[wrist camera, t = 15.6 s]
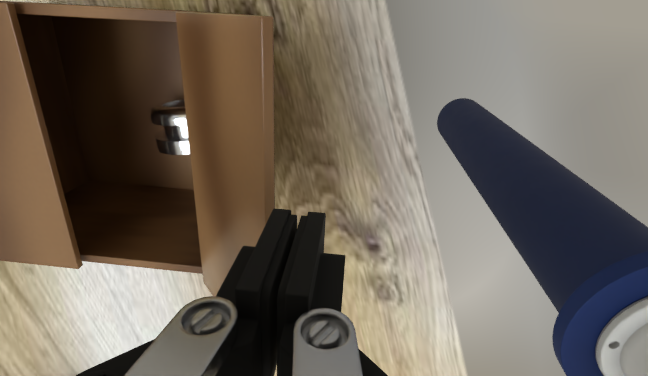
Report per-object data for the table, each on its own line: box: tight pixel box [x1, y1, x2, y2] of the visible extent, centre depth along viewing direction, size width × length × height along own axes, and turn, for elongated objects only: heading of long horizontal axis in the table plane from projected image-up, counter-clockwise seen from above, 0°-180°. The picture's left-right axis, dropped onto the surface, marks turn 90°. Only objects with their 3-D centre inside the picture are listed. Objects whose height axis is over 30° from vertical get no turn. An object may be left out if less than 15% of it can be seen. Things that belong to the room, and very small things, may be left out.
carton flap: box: [176, 12, 276, 370], centre depth 16 cm, size 7×14×1 cm
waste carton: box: [0, 1, 247, 274], centre depth 24 cm, size 15×14×11 cm
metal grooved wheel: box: [150, 98, 190, 155], centre depth 26 cm, size 5×3×5 cm, turn 93°
